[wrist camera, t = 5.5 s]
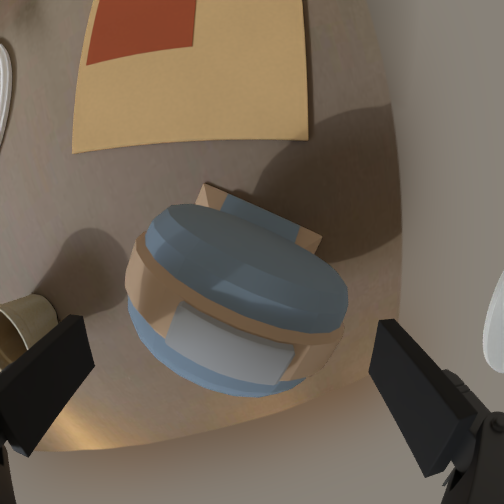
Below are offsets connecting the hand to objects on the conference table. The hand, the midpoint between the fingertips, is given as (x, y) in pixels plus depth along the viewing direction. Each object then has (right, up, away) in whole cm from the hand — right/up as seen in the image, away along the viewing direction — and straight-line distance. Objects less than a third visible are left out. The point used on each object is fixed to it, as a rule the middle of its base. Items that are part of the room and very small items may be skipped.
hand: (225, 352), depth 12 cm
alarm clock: (0, +4, +17) cm, 18 cm away
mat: (-6, +25, +12) cm, 29 cm away
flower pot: (-26, -4, +19) cm, 32 cm away
